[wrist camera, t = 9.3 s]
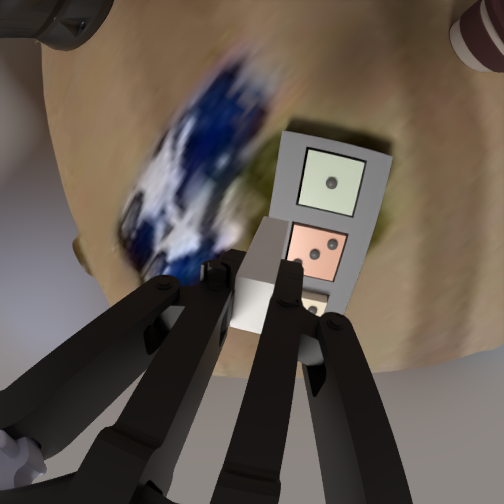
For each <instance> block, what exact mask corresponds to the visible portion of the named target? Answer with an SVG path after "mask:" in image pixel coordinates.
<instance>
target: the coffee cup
mask: <svg viewBox="0 0 504 504" xmlns="http://www.w3.org/2000/svg"><path fill="white" fill-rule="evenodd" d="M450 41H451V44H452V47H453V49H454V51H455V52H456V54H457V55H458V57H459V58H460V59H461V60H462V61H463V62H464V63H465V64H466V65H467V66H468V67H470V68H471V69H473V70H476V71H479V72H488V71H494V72H504V0H478V1H477V2H476V3H475V4H473V5H472V6H471V7H470V8H469V9H468V10H467V11H465V12H464V13H463V14H462V16H461V18H460V19H459V20H458V21H457V22H455V23H454V24H453V25H452V27H451V29H450Z"/></svg>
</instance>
